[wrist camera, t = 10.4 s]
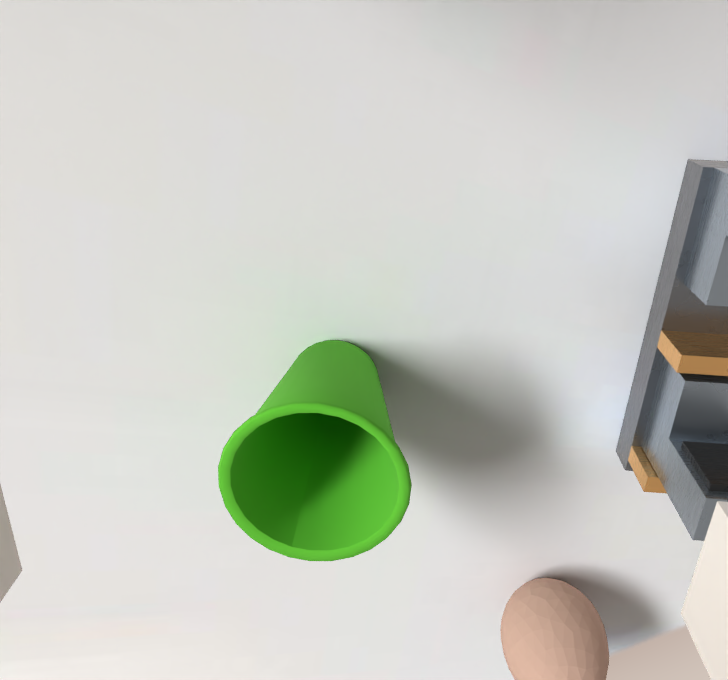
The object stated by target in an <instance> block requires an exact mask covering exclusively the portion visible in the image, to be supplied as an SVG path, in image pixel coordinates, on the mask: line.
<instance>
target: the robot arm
mask: <svg viewBox="0 0 728 680" xmlns="http://www.w3.org/2000/svg"><path fill="white" fill-rule="evenodd" d="M21 571H22V567H21V563H20V560H19V556H18V552H17V548H16V544H15V540H14V536H13V532H12V528H11V524H10V520H9V516H8V512H7V509H6V505H5V501H4V497H3V493H2V489H1V485H0V602H1V601H2V599H3V598H4V596H5V595H6V593H7V592H8V590H9V589H10V587H11V586H12V585H13V583H14V582H15V580H16V579H17V577H18V576H19V574H20V573H21ZM681 615H682V617H683V620H684V622H685V624H686V626H687V628H688V631H689V633H690V635H691V637H692V639H693V641H694V644H695V646H696V648H697V650H698V652H699V655H700V657H701V659H702V661H703V663H704V666H705V668H706V670H707V672H708V674H709V677H710V679H711V680H728V502H722V501H717V503H716V507H715V510H714V513H713V516H712V519H711V522H710V525H709V528H708V531H707V534H706V537H705V540H704V543H703V546H702V549H701V553H700V556H699V559H698V562H697V565H696V568H695V571H694V574H693V577H692V580H691V583H690V586H689V589H688V592H687V595H686V599H685V602H684V605H683V608H682V611H681Z"/></svg>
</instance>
